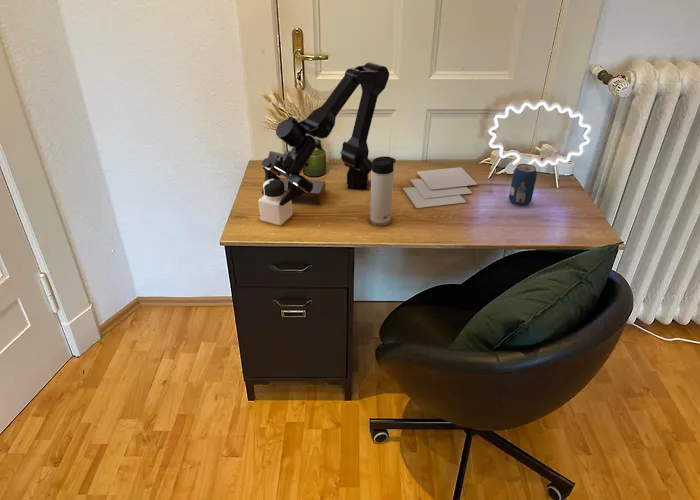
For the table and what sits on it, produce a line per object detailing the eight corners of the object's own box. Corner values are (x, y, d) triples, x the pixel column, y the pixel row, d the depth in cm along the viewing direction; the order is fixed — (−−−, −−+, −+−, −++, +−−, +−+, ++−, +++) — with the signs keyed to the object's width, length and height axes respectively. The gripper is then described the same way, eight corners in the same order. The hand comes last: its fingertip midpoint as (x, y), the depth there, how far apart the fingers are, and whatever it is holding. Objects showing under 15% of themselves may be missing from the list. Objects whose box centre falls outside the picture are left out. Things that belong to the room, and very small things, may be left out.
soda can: (523, 196, 175) (530, 161, 168) (534, 206, 169) (542, 171, 163) (504, 198, 174) (510, 164, 167) (514, 208, 168) (521, 173, 161)
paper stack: (490, 199, 173) (491, 197, 172) (416, 208, 168) (416, 206, 167) (460, 168, 192) (460, 167, 191) (393, 176, 186) (393, 174, 186)
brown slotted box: (325, 191, 177) (325, 180, 174) (319, 205, 169) (319, 193, 167) (274, 187, 179) (274, 176, 177) (267, 200, 171) (266, 189, 169)
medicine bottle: (293, 214, 164) (290, 179, 157) (280, 226, 158) (277, 189, 152) (273, 209, 166) (269, 174, 159) (260, 220, 161) (255, 184, 154)
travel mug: (390, 227, 158) (394, 164, 147) (368, 224, 159) (370, 162, 148) (393, 216, 163) (396, 155, 152) (371, 214, 164) (373, 153, 153)
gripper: (264, 131, 157) (235, 176, 157) (303, 150, 146) (272, 199, 145) (287, 150, 166) (260, 192, 166) (326, 169, 154) (297, 215, 154)
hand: (271, 199), depth 158 cm, fingers closed on medicine bottle, 8 cm apart
